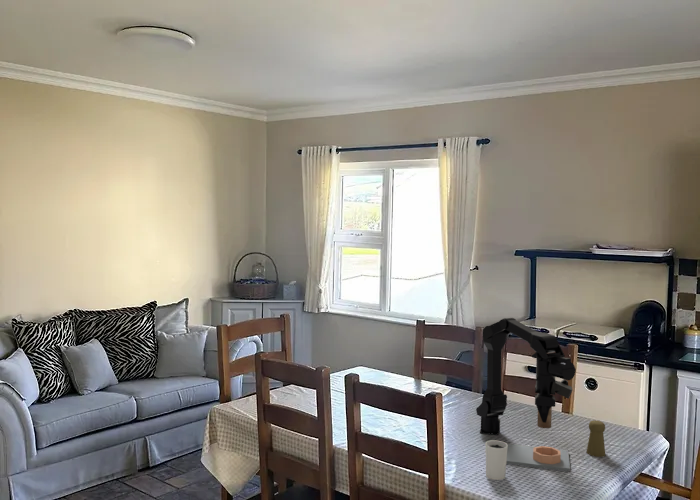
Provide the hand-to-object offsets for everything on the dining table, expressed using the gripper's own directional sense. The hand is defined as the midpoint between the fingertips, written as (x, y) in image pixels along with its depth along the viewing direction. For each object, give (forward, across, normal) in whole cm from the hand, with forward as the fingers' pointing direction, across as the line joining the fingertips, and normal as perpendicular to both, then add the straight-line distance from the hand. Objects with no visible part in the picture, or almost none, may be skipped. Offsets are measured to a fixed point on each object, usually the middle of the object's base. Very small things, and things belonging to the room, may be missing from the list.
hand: (544, 420), depth 209 cm
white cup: (+13, -20, +14) cm, 28 cm away
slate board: (+12, -2, +2) cm, 13 cm away
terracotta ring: (+12, -4, -1) cm, 13 cm away
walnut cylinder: (+2, 0, 0) cm, 2 cm away
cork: (+13, +9, -17) cm, 23 cm away
